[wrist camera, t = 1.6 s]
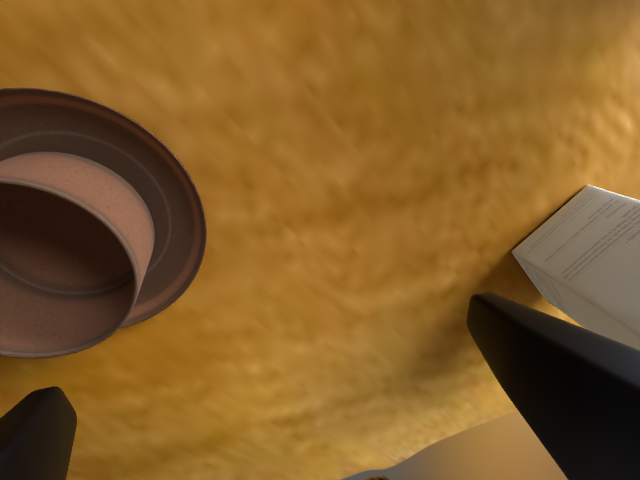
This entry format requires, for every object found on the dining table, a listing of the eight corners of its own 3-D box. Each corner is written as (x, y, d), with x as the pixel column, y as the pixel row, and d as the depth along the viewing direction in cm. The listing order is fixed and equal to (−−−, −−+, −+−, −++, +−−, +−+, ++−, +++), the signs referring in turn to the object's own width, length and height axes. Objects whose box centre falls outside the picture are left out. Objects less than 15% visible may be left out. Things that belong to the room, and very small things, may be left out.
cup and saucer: (41, 339, 20) (-24, 440, 15) (-151, 136, 14) (-378, 180, 9) (240, 267, 21) (246, 336, 16) (138, 48, 15) (92, 41, 10)
